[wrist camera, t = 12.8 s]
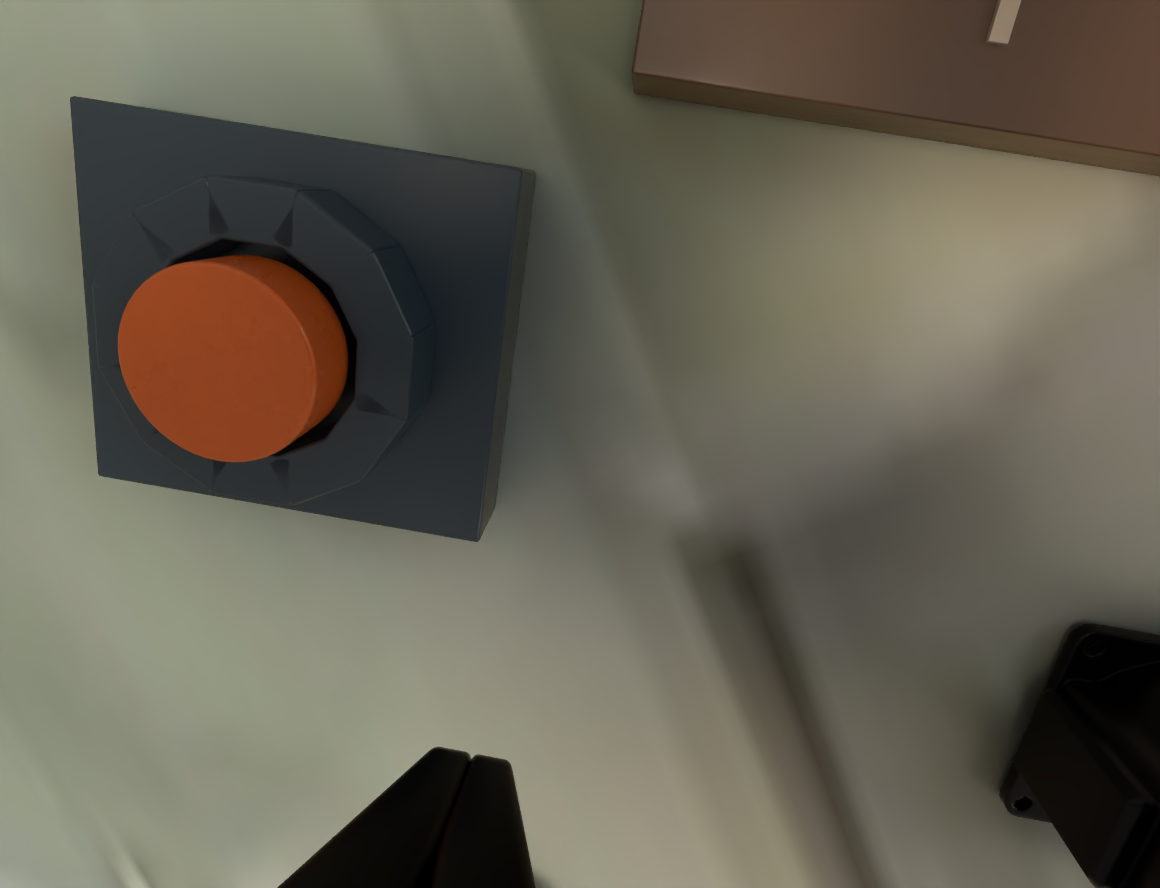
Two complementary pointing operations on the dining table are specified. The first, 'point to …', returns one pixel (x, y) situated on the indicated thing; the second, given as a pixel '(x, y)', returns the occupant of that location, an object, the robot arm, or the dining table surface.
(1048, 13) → the dial panel
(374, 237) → the button housing
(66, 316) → the dining table surface
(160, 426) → the button
